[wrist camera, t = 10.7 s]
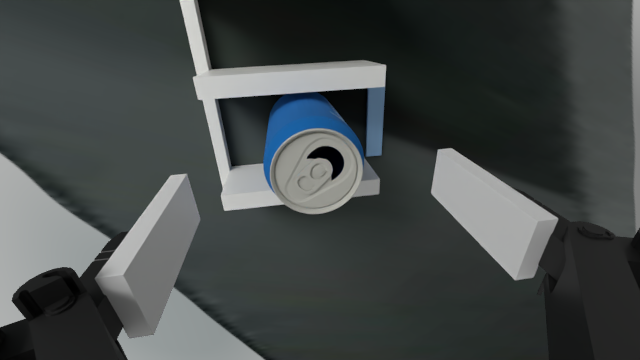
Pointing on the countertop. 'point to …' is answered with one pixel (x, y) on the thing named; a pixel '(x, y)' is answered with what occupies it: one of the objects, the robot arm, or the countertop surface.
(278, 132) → the beverage can
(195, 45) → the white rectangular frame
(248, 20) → the countertop surface
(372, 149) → the blue bezel
